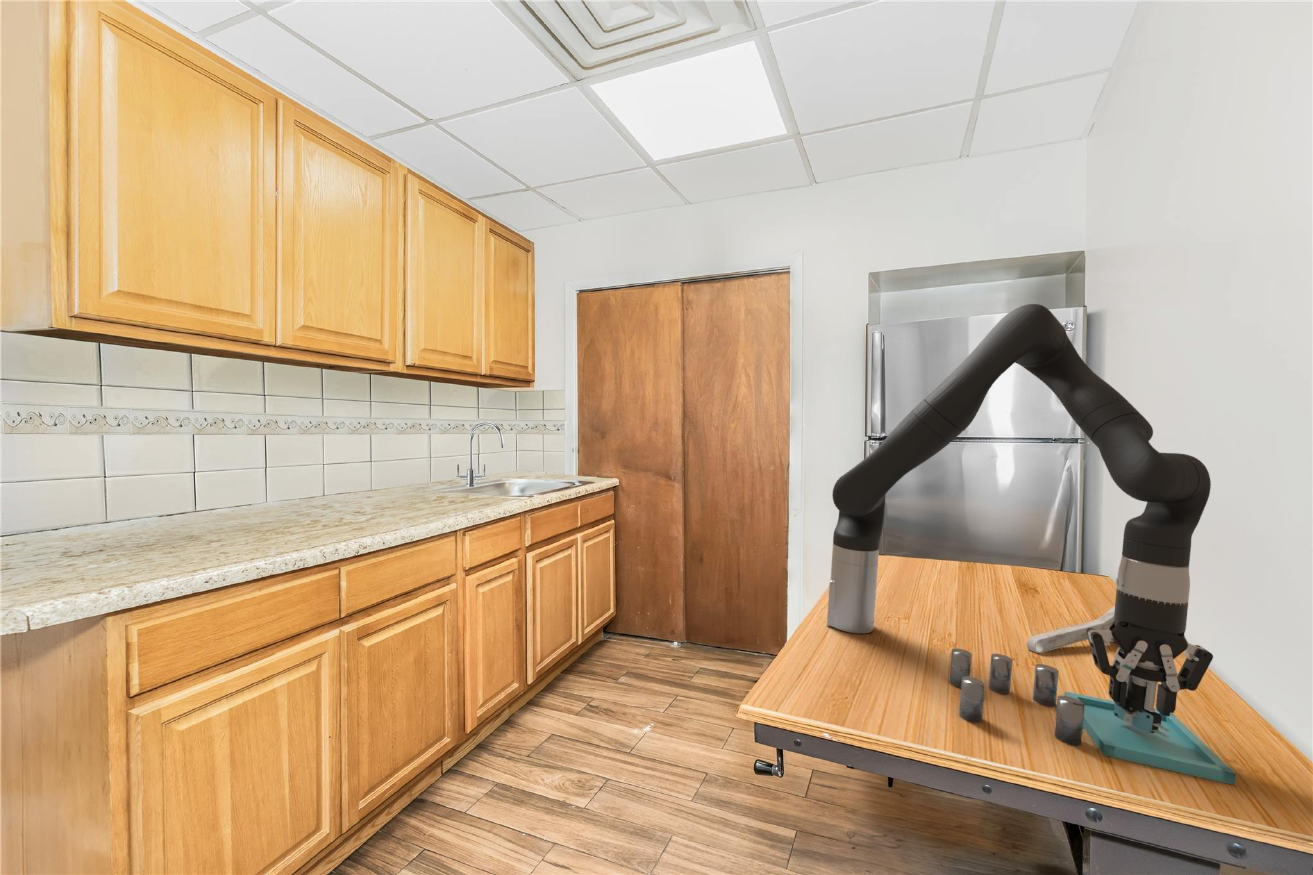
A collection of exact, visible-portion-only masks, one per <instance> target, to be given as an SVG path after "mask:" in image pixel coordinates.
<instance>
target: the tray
mask: <svg viewBox="0 0 1313 875" xmlns="http://www.w3.org/2000/svg"><path fill="white" fill-rule="evenodd" d="M1064 696H1068V697H1072V698H1075V699H1077V700H1079V701H1081V702H1083V703H1084V705H1085V706H1084V718H1083V729H1084V730H1085V732H1086V733H1087V734H1088V736H1089V737H1090V738H1091V740H1092V742H1093V743H1094V744H1095V746H1096V747H1097V748H1098V751H1100V753H1101V754H1102V755H1103V756H1107V757H1111V758H1115V759H1119V760H1124V761H1128V762H1133V763H1137V764H1142V765H1146V766H1151V767H1154V768H1159V769H1163V770H1168V771H1172V772H1174V773H1175V772H1176V773H1181V774H1184V775H1189V776H1193V777H1197V778H1201V779H1206V780H1210V781H1214V782H1219V783H1222V784H1228V785H1233V786H1235V785H1236V776H1237V775H1236V772H1235V771H1234V770H1233V769H1231V768H1230V767H1229V765H1227V764H1226V762H1224V760H1222V759H1221V758H1220V757H1219V756H1218V755H1217V754H1216V753H1215V752H1214V751H1212V749H1211V748H1210V747H1208V746H1207V745H1206V744H1205V743H1204V742H1203V741H1202V740H1201V739H1200V738H1199V737H1198V736H1197V735H1196V734H1194V732H1192V730H1190V728H1188V727H1187V725H1185V724H1184V723H1183V722H1182V721H1181V720H1180V719H1179V718H1178V717H1177V716H1175V715H1174V713H1170V716H1164V715H1161V714H1160V713H1159V712H1158V711H1157V709H1156V708H1154V709H1155V712H1156V713H1158V714H1160V715H1161V717H1162V719H1161V725H1162V726H1163V727H1165V728H1167V729H1169V730H1170V731H1165V730H1163V729H1165V728H1163V729H1161V728H1159V727H1158V730H1159V731H1160V732H1162V733H1163V734H1165V735H1167V736H1169V737H1168V738H1166V737H1163V736H1161V735H1160V734H1158V733H1145V732H1143V731H1141V730H1140V729H1138V728H1136V727H1134V726H1132V725H1129V724H1127V723H1125V722H1124V721H1123V720H1121V719H1119V718H1117V717H1115V716H1114V708H1115V702H1114V701H1113V700H1112V699H1111V700H1110V699H1105V698H1099V697H1094V696H1091V695H1090V696H1089V695H1086V694H1085V695H1084V694H1081V693H1080V694H1079V693H1075V692H1070V691H1069V692H1068V691H1064ZM1165 735H1164V736H1165Z"/></svg>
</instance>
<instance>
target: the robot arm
mask: <svg viewBox="0 0 1313 875" xmlns="http://www.w3.org/2000/svg"><path fill="white" fill-rule="evenodd" d="M1014 364H1018V365H1019V366H1021V367H1022V368H1024V369H1025V370H1027V371H1028V372H1029V373H1031V374H1032V375H1033V376H1035V377H1036V378H1037V379H1038V380H1039V381H1041V382H1042V383H1043V384H1045V385H1046V386H1047V387H1048V388H1049V389H1050V391H1051V392H1053V393H1054V395H1055V396H1056V398H1057V399H1058V400H1059V401H1060V402H1061V404H1062V406H1063V408H1064V409H1065V410H1066V412H1067V413H1068V415H1069V416H1070V417H1071V419H1072V420H1073V421H1074V422H1075V423H1076V425H1077V426H1078V427H1079V428H1080V430H1082V432H1083V433H1084V434H1085V436H1087V438H1088V439H1090V441H1091V442H1092V444H1094V445H1095V446H1096V448H1098V450H1099V453H1100V456H1101V458H1102V461H1103V463H1104V465H1105V466H1106V469H1107V471H1108V473H1109V475H1110V478H1111V479H1112V481H1113V482H1114V483H1115V485H1116V486H1117V487H1118V488H1119V489H1120V490H1121V491H1122V492H1123V493H1125V494H1126V495H1128V496H1129V497H1130V498H1132V499H1134V500H1137V501H1140V502H1144V503H1145V502H1146V505H1145V508H1144V510H1143V512H1142V513H1141V514H1140V515H1138V516H1135V517H1132V518H1130V519H1128V520H1127V521H1126V523H1125V526H1124V531H1123V539H1122V540H1123V541H1122V550H1121V551H1122V552H1121V557H1120V558H1121V559H1120V562H1119V566H1118V571H1117V578H1116V579H1115V583H1116V591H1115V601H1114V602H1115V603H1114V605H1115V611H1114V622H1113V624H1112V625H1111V626H1110V628H1109V629H1107V630H1095V629H1093V628H1088V629H1087V630H1086V633H1087V637H1088V643H1089V647H1090V651H1091V655H1092V659H1093V662H1094V663H1093V664H1094V665H1095V666H1096V667H1097V669H1098V670H1099V671H1100V672H1101V673H1102V674H1104V675H1107V676H1109V683H1108V685H1109V686H1108V696H1109V697H1110V699H1111V701H1114V702H1115V703H1116V705H1117V706H1120V707H1125V703H1126V693H1127V683H1126V682H1125V681H1126V679H1127V677H1128V675H1129V674H1130V672H1131V670H1133V669H1135V667H1136V665H1137V663H1138V662H1140V663H1145V662H1146V661H1149V662H1153V664H1154V665H1157V666H1160V669H1159V671H1161V670H1162V671H1164V672H1165V675H1164V676H1165V681H1163V682H1160V683H1157V688H1156V699H1155V700H1156V701H1155V709H1156V710H1157V711H1158V712H1159V713H1160V714H1161V715H1164V716H1170V713H1172V714H1174V713H1175V711H1176V708H1177V707H1176V706H1177V699H1178V698H1177V696H1178V693H1179V691H1182V690H1188V691H1196V690H1197V689H1198V687H1199V685H1200V683H1201V682H1202V680H1203V677H1204V676H1205V675H1206V672H1207V670H1208V668H1209V666H1210V665H1211V663H1212V661H1213V659H1214V655H1213V653H1211V652H1210V651H1209V650H1208V649H1206V648H1204V647H1202V646H1201V645H1198V644H1192V643H1189V642H1188V641H1187V638H1186V636H1185V633H1186V629H1187V619H1188V610H1189V601H1190V599H1189V598H1190V592H1191V591H1190V589H1191V577H1190V561H1191V560H1190V559H1191V553H1192V552H1191V549H1192V538H1193V534H1194V533H1195V532H1194V531H1195V530H1196V528H1197V527H1198V524H1199V522H1200V520H1201V518H1202V515H1203V513H1204V510H1205V508H1206V505H1207V504H1208V500H1209V498H1210V494H1211V489H1212V488H1211V486H1212V484H1211V483H1212V482H1211V481H1212V480H1211V476H1210V473H1209V471H1208V469H1207V467H1206V465H1205V464H1204V462H1202V461H1201V460H1199V458H1197V457H1195V456H1192V455H1189V454H1185V453H1179V452H1178V453H1177V452H1175V453H1174V452H1159V451H1158V450H1157V449H1155V448H1154V447H1153V446H1152V445H1151V443H1150V441H1151V439H1152V438H1153V434H1154V429H1153V427H1152V425H1151V424H1150V422H1149V421H1148V420H1147V419H1146V418H1145V416H1143V415H1142V414H1141V412H1140V411H1138V409H1137V408H1135V407H1134V406H1133V405H1132V403H1131V402H1130V401H1128V399H1126V398H1125V397H1124V396H1123V395H1122V394H1121V393H1120V392H1119V391H1118V390H1116V389H1115V388H1114V387H1113V386H1112V385H1110V384H1109V383H1107V382H1106V381H1105V380H1104V379H1102V377H1100V376H1098V375H1097V374H1096V373H1095V372H1094V371H1093V370H1092V369H1091V368H1090V367H1089V366H1088V365H1087V364H1086V362H1085V360H1083V358H1082V357H1081V355H1080V354H1079V353H1078V352H1077V350H1076V348H1075V346H1074V345H1073V343H1072V341H1071V340H1070V338H1069V336H1068V333H1067V331H1066V328H1064V325H1062V323H1061V322H1060V321H1059V320H1058V319H1057V317H1056V316H1055V315H1054V313H1053V312H1052V311H1051V310H1050V309H1049V308H1048V307H1046V306H1045V305H1042V304H1039V303H1030V304H1029V303H1028V304H1024V305H1020V306H1019V307H1017V308H1014V309H1013V310H1012V311H1010V312H1008V313H1007V314H1006V315H1005V316H1003V317H1002V318H1001V319H1000V320H999V321H998V322H997V323H996V324H995V325H994V326H993V327H992V328H991V329H990V331H989V332H988V333H987V335H985V337H984V338H983V339H982V340H981V341H980V342H979V343H978V345H977V346H976V347H975V348H974V349H973V350H972V352H971V353H970V354H969V355H968V356H967V357H966V358H965V359H964V360H963V361H962V362H961V364H959V365H958V366H957V367H956V368H955V369H953V371H952V372H951V373H950V374H949V375H948V376H947V377H946V378H945V379H944V380H943V381H942V382H941V383H940V384H939V385H938V386H937V387H935V389H934V390H932V391H931V392H930V393H929V394H928V395H927V396H926V397H925V398H924V399H922V400H921V401H920V402H919V403H918V404H917V405H915V407H914V408H913V409H912V410H911V411H910V412H909V413H908V414H907V415H906V416H905V417H904V418H903V419H902V420H901V421H900V422H899V423H898V424H897V426H896V427H894V428H893V430H892V431H890V433H889V434H888V435H887V437H886V438H884V440H883V441H882V442H881V443H880V444H879V445H878V447H877V448H876V449H875V450H874V451H872V452H871V453H870V454H869V455H867V456H866V457H865V458H864V459H863V460H861V461H860V462H859V463H858V464H856V465H855V466H853V467H852V468H851V469H849V471H847V472H845V473H844V474H843V475H841V476H840V477H838V479H837V480H836V482H835V484H834V486H833V488H832V501H833V504H834V506H835V508H836V509H837V510H838V518H837V523H836V525H835V527H834V530H833V537H832V538H833V539H832V552H831V553H832V554H831V566H830V569H831V570H830V579H829V584H828V585H829V587H828V588H829V589H828V602H827V618H826V619H827V620H826V626H828V627H833V628H834V629H836V630H840V631H843V632H847V633H851V634H868V633H871V632H873V631H874V625H875V624H874V623H875V615H876V614H875V612H876V596H877V586H878V585H877V584H878V582H877V581H878V568H879V556H880V555H879V554H880V553H879V552H880V542H881V537H882V533H883V525H884V516H885V506H886V494H888V492H889V491H891V489H892V487H894V486H895V485H896V484H897V483H898V481H900V480H902V478H903V477H904V476H905V475H907V474H908V473H910V472H911V471H913V470H914V469H916V468H917V467H919V466H920V465H922V464H924V463H926V462H927V461H928V460H930V459H931V458H932V457H934V456H935V455H937V454H938V453H939V452H941V451H942V450H943V449H945V448H946V447H947V446H948V445H950V443H952V441H954V440H955V439H957V437H958V436H960V434H962V432H964V431H965V430H966V429H967V428H969V426H970V425H971V424H972V422H973V421H974V419H975V417H976V416H977V415H978V412H979V411H980V410H981V406H982V405H983V403H984V401H985V398H986V396H987V394H988V393H989V391H990V389H991V387H993V384H995V382H996V381H997V380H998V379H999V378H1000V377H1001V375H1003V374H1004V373H1005V372H1006V371H1007V370H1009V369H1010V367H1011V366H1013V365H1014ZM1111 638H1113V639H1114V641H1115V642H1114V643H1115V644H1116V645H1117V646H1118V647H1117V649H1116V651H1115V653H1114V655H1113V657H1114V658H1113V661H1112V663H1111V664H1110V660H1109V656H1108V652H1107V649H1106V647H1108V646H1109V644H1110V642H1109V640H1110V639H1111ZM1183 652H1184V657H1185V660H1184V662H1183V664H1182V666H1181V668H1180V669H1179V672H1177V668H1176V664H1175V662H1174V660H1175V659H1177V657H1179V656H1180V655H1181V654H1182V653H1183Z"/></svg>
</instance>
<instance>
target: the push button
mask: <svg viewBox="0 0 1313 875" xmlns="http://www.w3.org/2000/svg"><path fill="white" fill-rule="evenodd" d="M1159 669H1160V666H1157V665H1154V664H1153V662H1149V661H1146V662H1145V663H1140V662H1138V663H1137V665H1136V667H1135V669H1133V670H1131V672H1130V674H1129V675H1128V677H1127V679H1126V681H1125V682H1126V683H1127V693H1126V703H1125V707H1120V706H1117V705H1116V703H1115V708H1114V716H1115V717H1117V718H1119V719H1121V720H1123V721H1124V722H1125V723H1127V724H1129V725H1132V726H1134V727H1136V728H1138V729H1140V730H1141V731H1143V732H1145V733H1158V734H1160V735H1161V736H1163V737H1166V738H1168V737H1169V736H1167V735H1165V734H1163V733H1162V732H1160V731H1159V730H1158V727H1159V728H1161V729H1163V728H1165V727H1163V726H1162V725H1161V719H1162V717H1161V715H1160V714H1158V713H1156V712H1155V709H1156V708H1155V703H1156V701H1155V700H1156V696H1157V688H1158V684H1159V683H1161V682H1163V681H1165V676H1164V675H1165V672H1164V671H1162V670H1161V671H1159ZM1163 730H1165V731H1170V730H1169V729H1167V728H1165V729H1163ZM1164 735H1165V736H1164Z"/></svg>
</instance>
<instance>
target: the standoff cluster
mask: <svg viewBox="0 0 1313 875" xmlns="http://www.w3.org/2000/svg"><path fill="white" fill-rule="evenodd" d="M950 650H951V652H950V653H951V654H950V664H949V667H950V668H949V676H948V677H949V681H948V683H949V684H951V686H953V687H955V688H958V689H960V696H959V697H960V699H959V714H958V716H959V717H960V718H962V719H963V720H965V721H967V722H970V723H973V724H979V723H982V722H983V716H984V705H985V704H984V702H985V691H986V683H985V682H984V680H981V679H979V678H977V677H974V676H971V673H972V671H971V670H972V669H971V668H972V659H973V654H972V653H971V652H970V651H968V650H966V649H961V648H957V647H956V648H955V647H954V648H952V649H950ZM1034 667H1035V668H1034V677H1033V678H1034V679H1033V681H1034V682H1033V690H1032V691H1033V692H1032V700H1033V702H1035V703H1036V704H1039V705H1041V706H1044V707H1047V708H1055V707H1056V715H1055V722H1054V723H1055V726H1054V737H1055V738H1056V739H1057V740H1059V741H1060V742H1062V743H1064V744H1067V745H1070V746H1074V747H1078V746H1081V745H1082V739H1083V738H1082V737H1083V729H1084V727H1083V718H1084V706H1085V705H1084V703H1083V702H1081V701H1079V700H1077V699H1075V698H1072V697H1068V696H1065V695H1058V694H1057V693H1058V686H1059V685H1058V682H1059V669H1057V668H1055V667H1054V666H1051V665H1048V664H1045V663H1043V664H1042V663H1036V664H1035V666H1034ZM1012 673H1013V659H1012V657H1010V656H1007V655H1005V654H1001V653H992V654H991V655H990V666H989V676H988V678H989V679H988V689H989V690H990V691H992V692H993V693H996V694H998V695H1002V696H1003V695H1005V696H1009V695H1010V694H1011V687H1012V686H1011V685H1012V684H1011V683H1012Z"/></svg>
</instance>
